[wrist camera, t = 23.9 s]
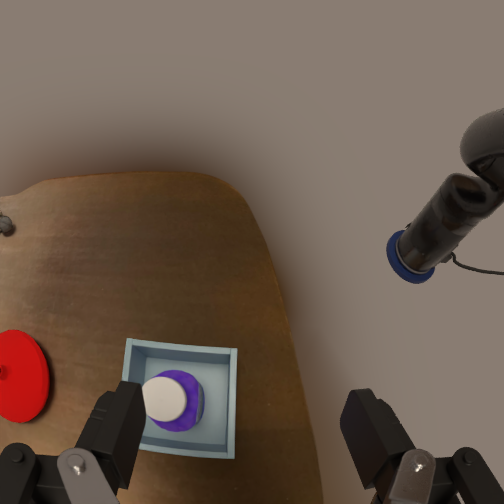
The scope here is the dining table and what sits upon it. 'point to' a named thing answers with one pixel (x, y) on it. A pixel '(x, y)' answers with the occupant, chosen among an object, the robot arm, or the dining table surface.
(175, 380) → the bottle
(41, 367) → the red disc with nozzle
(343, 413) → the robot arm
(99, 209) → the dining table surface
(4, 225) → the figurine
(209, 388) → the blue-gray open bin
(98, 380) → the dining table surface
